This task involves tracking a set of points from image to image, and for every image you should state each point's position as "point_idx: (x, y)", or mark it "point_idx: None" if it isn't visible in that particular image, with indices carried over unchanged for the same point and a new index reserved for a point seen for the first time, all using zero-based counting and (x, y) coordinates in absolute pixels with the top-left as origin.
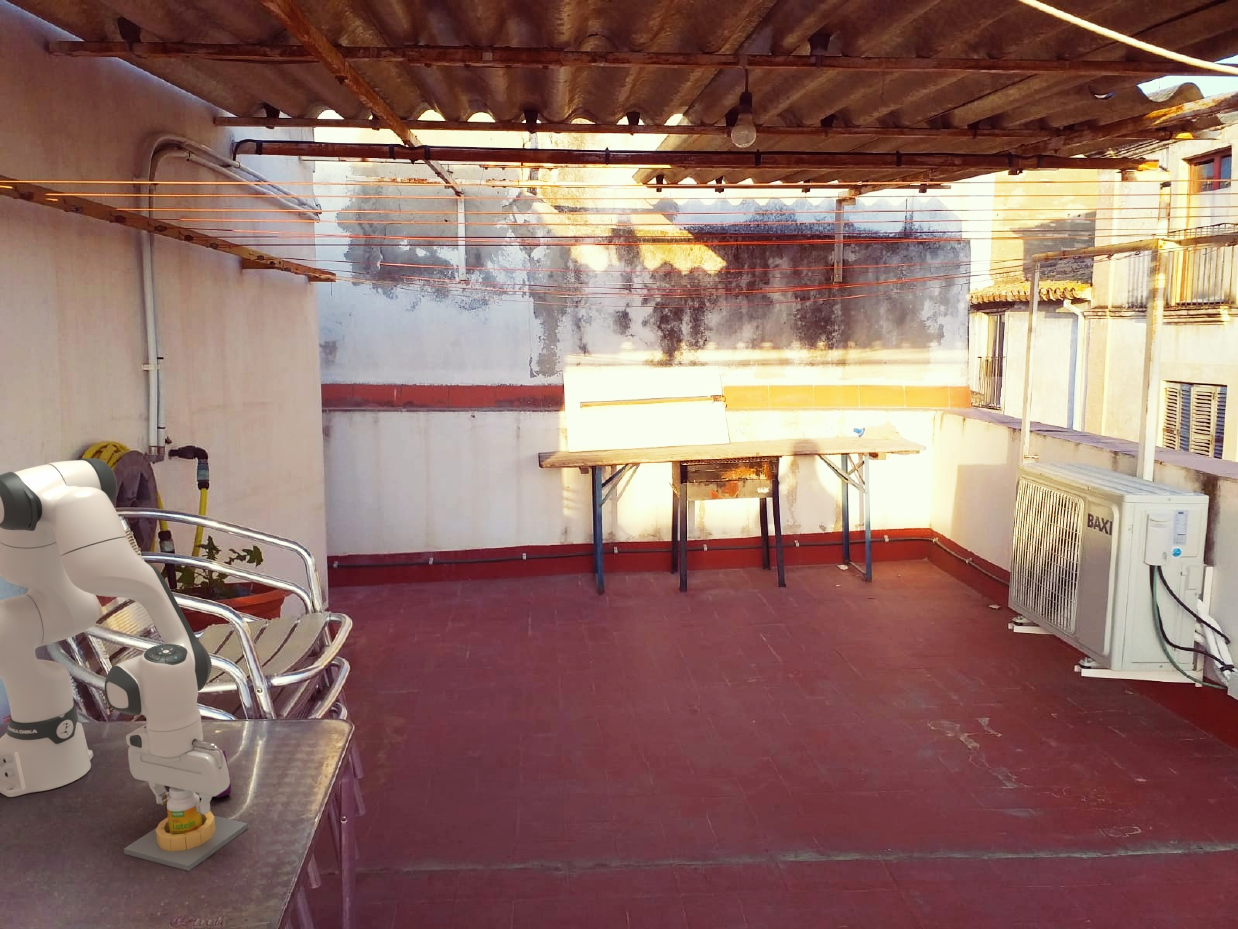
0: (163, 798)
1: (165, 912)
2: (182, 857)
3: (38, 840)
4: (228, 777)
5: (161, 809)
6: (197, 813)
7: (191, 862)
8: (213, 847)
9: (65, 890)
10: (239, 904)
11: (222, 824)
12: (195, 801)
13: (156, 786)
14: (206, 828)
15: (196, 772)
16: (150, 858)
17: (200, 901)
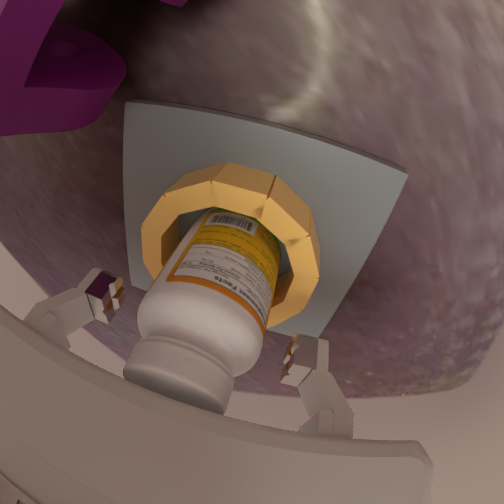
0: (112, 313)
1: None
2: (284, 321)
3: (12, 237)
4: (429, 492)
5: None
6: (269, 312)
7: (316, 335)
8: (346, 290)
9: None
10: (425, 379)
11: (319, 178)
12: (257, 358)
13: (62, 328)
14: (312, 291)
15: None
16: None
17: (368, 380)
